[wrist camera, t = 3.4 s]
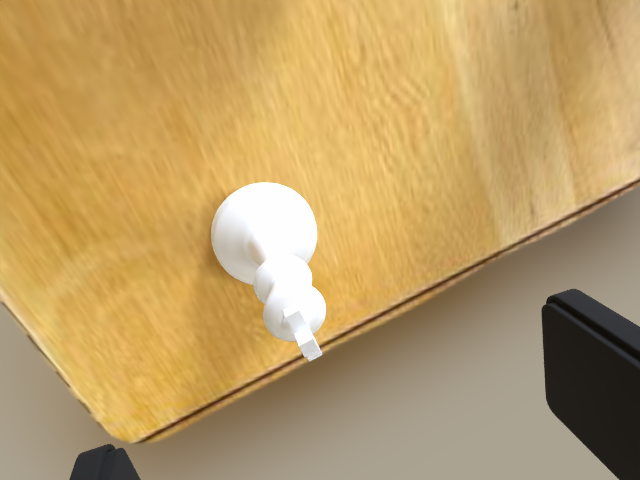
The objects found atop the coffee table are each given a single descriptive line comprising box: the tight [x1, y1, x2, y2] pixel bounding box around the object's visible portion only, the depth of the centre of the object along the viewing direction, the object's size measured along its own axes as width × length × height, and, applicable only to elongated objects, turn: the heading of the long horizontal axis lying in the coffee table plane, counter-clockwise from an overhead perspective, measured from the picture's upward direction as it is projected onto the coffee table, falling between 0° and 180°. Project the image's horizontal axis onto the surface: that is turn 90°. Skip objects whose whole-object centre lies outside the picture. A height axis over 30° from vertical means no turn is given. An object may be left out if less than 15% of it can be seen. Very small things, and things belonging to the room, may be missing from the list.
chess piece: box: [211, 183, 326, 361], centre depth 18 cm, size 5×5×10 cm
